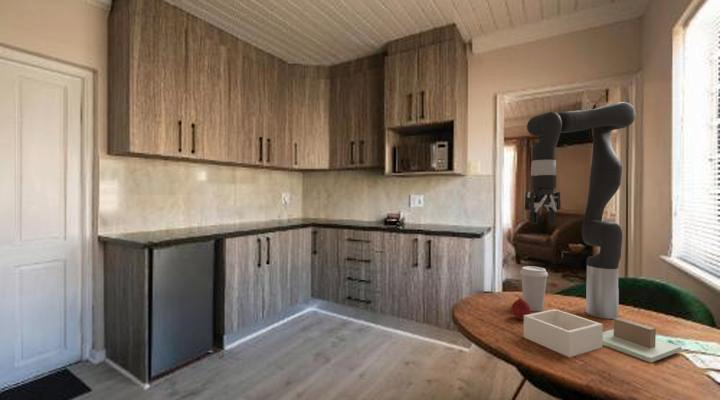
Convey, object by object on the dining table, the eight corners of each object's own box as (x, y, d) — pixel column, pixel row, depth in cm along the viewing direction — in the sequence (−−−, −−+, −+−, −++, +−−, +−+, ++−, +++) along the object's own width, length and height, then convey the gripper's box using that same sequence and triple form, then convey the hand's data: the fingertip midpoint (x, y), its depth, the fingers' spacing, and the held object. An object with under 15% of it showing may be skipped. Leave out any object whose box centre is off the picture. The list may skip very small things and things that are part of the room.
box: (555, 331, 109) (555, 308, 109) (602, 349, 96) (602, 324, 96) (523, 339, 103) (523, 315, 103) (569, 359, 90) (569, 332, 90)
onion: (532, 324, 114) (532, 300, 114) (513, 322, 116) (513, 298, 115) (527, 318, 120) (527, 295, 120) (509, 317, 121) (510, 294, 121)
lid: (619, 334, 107) (619, 311, 107) (681, 354, 94) (681, 328, 94) (589, 343, 101) (589, 318, 101) (650, 366, 87) (651, 338, 87)
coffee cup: (553, 312, 126) (553, 271, 125) (526, 312, 126) (526, 271, 126) (539, 304, 135) (540, 265, 135) (515, 304, 135) (515, 265, 135)
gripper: (547, 175, 122) (546, 221, 122) (518, 174, 116) (518, 223, 116) (568, 174, 115) (567, 223, 115) (538, 173, 109) (538, 225, 109)
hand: (542, 223), depth 116 cm, fingers open, 8 cm apart
